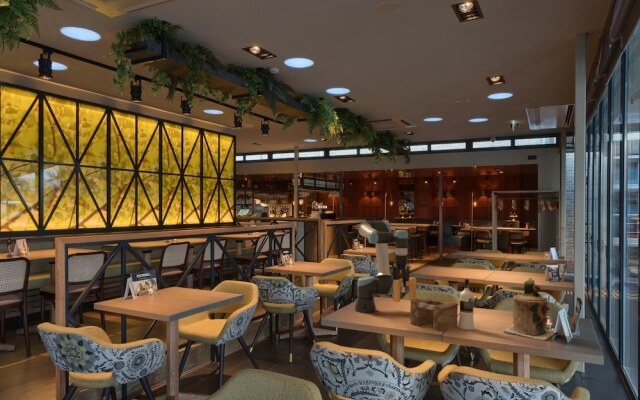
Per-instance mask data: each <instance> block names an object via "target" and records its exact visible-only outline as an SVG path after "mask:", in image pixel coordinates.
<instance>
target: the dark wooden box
mask: <svg viewBox="0 0 640 400" xmlns="http://www.w3.org/2000/svg"><path fill="white" fill-rule="evenodd" d="M410 309H411V315H410V325H413V326H418V327H420V326H422V325H426V324H430V323H431V324H432V325H433V327H432V330H433V331H438V332H441V333H442V332H445V331H449V330H451V329H454V328H457V327H458V323H459V318H458V315H459V314H458V312H459V311H458V309H459V305H458V303H456V302H451V301H445V300H439V299H435V298H429V297H426V298H421V300H416V301H412V302H411V301H410Z"/></svg>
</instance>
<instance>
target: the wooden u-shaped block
mask: <svg viewBox="0 0 640 400" xmlns="http://www.w3.org/2000/svg"><path fill="white" fill-rule="evenodd" d="M402 281H403V279H402V278H399V280H394V288H393V294H392V296H393V298H392V300H393V301H392V302H396V303H399V302H401V288H402ZM406 287H409V288H408V290H409V293H408V297H409V298H410V299H411V298H417V277H413V276H412V277H411V276H409V281H407V282H406Z"/></svg>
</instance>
